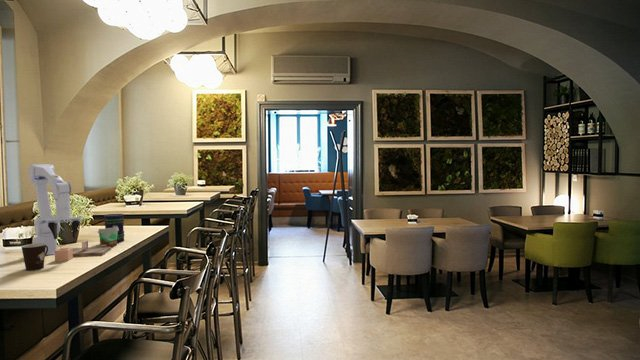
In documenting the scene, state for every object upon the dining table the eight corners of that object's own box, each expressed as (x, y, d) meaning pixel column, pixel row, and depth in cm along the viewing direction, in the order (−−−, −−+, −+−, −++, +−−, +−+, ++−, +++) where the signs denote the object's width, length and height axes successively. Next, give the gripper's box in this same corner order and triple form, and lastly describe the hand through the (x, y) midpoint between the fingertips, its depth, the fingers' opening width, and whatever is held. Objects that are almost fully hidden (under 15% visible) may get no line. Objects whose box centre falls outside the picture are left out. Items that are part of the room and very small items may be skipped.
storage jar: (128, 240, 253) (127, 213, 252) (116, 243, 243) (115, 216, 242) (113, 239, 255) (112, 213, 254) (101, 242, 245) (99, 215, 245)
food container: (109, 248, 229) (108, 229, 228) (98, 248, 230) (97, 229, 230) (124, 244, 241) (123, 225, 240) (114, 243, 242) (113, 225, 242)
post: (82, 250, 217) (81, 241, 217) (83, 250, 219) (83, 240, 219) (86, 250, 218) (86, 241, 217) (88, 249, 220) (87, 240, 219)
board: (57, 257, 210) (57, 254, 210) (68, 251, 224) (68, 248, 223) (102, 255, 213) (102, 252, 213) (111, 249, 227) (110, 246, 227)
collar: (54, 261, 202) (54, 250, 201) (59, 258, 207) (59, 248, 207) (68, 261, 203) (67, 250, 202) (72, 258, 208) (72, 247, 208)
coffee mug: (29, 272, 183) (27, 248, 182) (18, 269, 187) (17, 246, 187) (58, 266, 193) (57, 243, 192) (47, 263, 197) (46, 241, 197)
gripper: (42, 210, 199) (44, 240, 199) (78, 207, 203) (80, 237, 203) (47, 209, 206) (49, 238, 206) (82, 207, 209) (84, 235, 210)
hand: (65, 238), depth 205 cm, fingers open, 7 cm apart
